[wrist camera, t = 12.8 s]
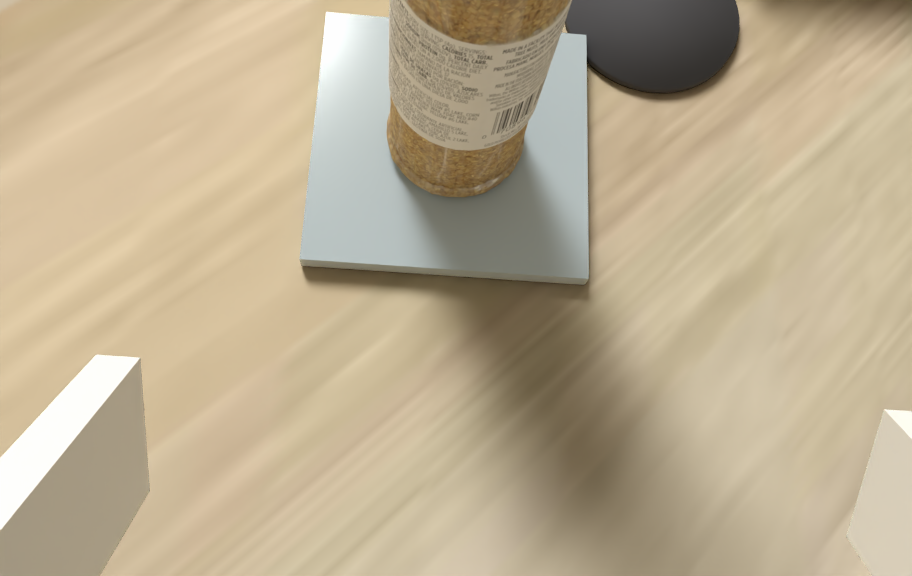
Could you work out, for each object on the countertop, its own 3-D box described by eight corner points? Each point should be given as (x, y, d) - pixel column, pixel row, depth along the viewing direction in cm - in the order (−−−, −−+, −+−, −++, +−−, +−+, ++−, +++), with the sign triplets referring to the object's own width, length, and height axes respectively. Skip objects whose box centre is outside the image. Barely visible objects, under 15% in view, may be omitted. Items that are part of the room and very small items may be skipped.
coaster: (582, 45, 30) (586, 34, 29) (584, 284, 27) (588, 278, 26) (327, 22, 29) (326, 12, 29) (301, 265, 26) (299, 259, 26)
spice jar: (473, 58, 28) (547, -354, 16) (549, 162, 27) (696, -188, 15) (357, 119, 27) (336, -271, 15) (432, 229, 26) (481, -86, 14)
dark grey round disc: (730, -49, 32) (733, -54, 31) (741, 100, 30) (745, 95, 29) (562, -65, 31) (564, -71, 31) (562, 85, 29) (564, 80, 29)
